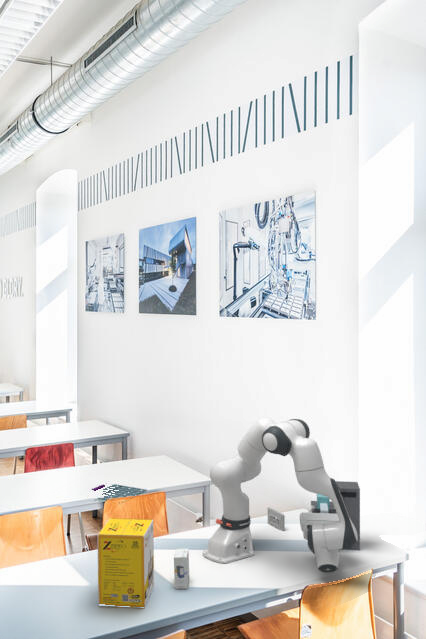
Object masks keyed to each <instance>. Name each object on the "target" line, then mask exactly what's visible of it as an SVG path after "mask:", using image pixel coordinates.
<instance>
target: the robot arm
mask: <svg viewBox="0 0 426 639" xmlns="http://www.w3.org/2000/svg"><path fill="white" fill-rule="evenodd" d="M310 431H311V430H310V427H309V425H308V424H307V422H306V421H304V420H302V419H300V418H292V419H288V420H284V421H281V422H279V423H276V422H275V420H274V419H272V418H269V417H261V418H259V419H258V420H256V422H255V423H253V424H252V426H251V427H250V428H249V429H247V432H246V433H245V435H244V436H242V439H241V440H240V442H239V443H238V445H237V450H238V451H237V452H238V454H237V455H236V456H233V457H230V458H227V459H222V460H220V461H218V462H216V463H215V464H213V465H212V466H211V468H210V469H209V470H210V471H209V477H210V481H211V482H212V484H213V485H214V486H215V487H217V488H218V489H219V492H220V495H221V498H222V516H221V519H220V518H216V520H215V523H216V524H218V525H219V527H218V528H217V529H216V531H215V532H214V533H213V534H212V535H211V537H210V538H209V540H208V546H207V548H206V549H204V550H203V551H202V556H203V557H204V558H206V559H208V560H210V561H213V562H216V563H220V564H228V563H232V562H235V561H239V560H242V559H246V558H249V557H252V556H254V555H255V551H254V546H253V540H252V534H251V533H252V532H251V528H250V527H251V523H252V522H251V521H252V520H251V515H250V498H249V496H248V495H247V494H246V493H245V492H243V491H242V488H241V486H242V483H246V482H249V481H252V480H254V479H255V478H256V477H258V476H259V475H260V474H261V472H262V464H261V461H262V459H263V458H264V457H265V455H266V453H267V452H268V453H270V454H274V455H280V456H283V457H286V456H288V455H289V456H290V457H291V458H292V461H293V467H294V472H295V478H296V480H297V483H298V485H299V486H300V487H301V488H302V489H304V490H305V491H307V492H309V493H312V494H313V493H314V494H316V495H317V494H320V495H323V496H326V497H328V498H329V499H330V502H333V504H334V512H336V513H337V514H331V513H312V511H314V509H315V508H314V505H311V504H310V508H309V510H308V512H300V514H299V524H300V525H299V526H300V530H301V532H302V533H303V534H302V536H303V539H304V540H306V541H307V546H308V549H309V550H310V552H311V553H312V554H314V555H315V562H316V566H317V569H318V571H320V572H322V573H325V574H326V573H334V572H337V570H339V562H340V555H339V553H340V552H339V549H352V548H353V547H354V546H355V545H356V544H357V542H358V535H357V531H356V528H355V526H354V525H353V523H352V520H351V518H350V515H349V513H348V510H347V507H346V505H345V502H344V499H343V497H342V494H341V492H340V489H339V487H338V485H337V483H336V481H337V480H335V478H333V477H330V475H329V474H328V473H327V471H326V469H325V465H324V464H325V463H324V459H323V456H322V453H321V451H320V447H319V444H318V443H317V441H315V440H314V439H312V438H310V434H311V432H310Z"/></svg>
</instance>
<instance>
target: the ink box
mask: <svg viewBox="0 0 426 639" xmlns="http://www.w3.org/2000/svg"><path fill="white" fill-rule="evenodd" d="M189 554H190V553H189V548H176V549H175V553H174V556H173V568H174V570H173V571H174V573H173V574H174V577H173V578H174V589H175V590H177V589H178V590H179V589H185V590H186V589H189V585H190V558H189V557H190V555H189Z"/></svg>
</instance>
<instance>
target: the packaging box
mask: <svg viewBox="0 0 426 639" xmlns="http://www.w3.org/2000/svg"><path fill="white" fill-rule="evenodd" d="M96 537H97V592H98V593H97V594H98V595H97V596H98V597H97V598H98V599H97V600H98V602H97V604H105V605H115V606H130V607H145V608H146V606H147V604H146V602H147V600H148V601H149V599H150V597H149V596H151V595H150V593H151V594H152V592H153V590H154V588H153V586H154V587H155V560H154V558H155V553H154V550H155V549H154V548H155V547H154V519H152V518H151V519H149V518H147V519H145V518H144V519H143V518H142V519H141V518H113V517H111V518H109V519H108V520H107V522H106V523H105V524H104V526H103V527H102V528H101V529H100V531H99V532H98V534H97V536H96ZM152 589H153V590H152ZM151 591H152V592H151ZM148 598H149V599H148ZM147 603H148V602H147ZM145 605H146V606H145Z"/></svg>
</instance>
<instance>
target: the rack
mask: <svg viewBox="0 0 426 639" xmlns="http://www.w3.org/2000/svg"><path fill="white" fill-rule="evenodd" d="M335 481H336V483H337V485H338V487H339V489H340V492H341V494H342V497H343V499H344V502H345V505H346V507H347V510H348V513H349V515H350V518H351V520H352V523H353V525H354V526H355V528H356V531H357V535H358V542H357V544H356V545H355V546H354V547H353V548H352V549H338V551H339V550H340V551H341V550H342V551H361V502H360V501H361V488H360V485H359V484H358V481H338V480H335ZM311 505H314V508H315V509H314V511H312V513H320V509H317V500H310V506H311ZM328 513H331V514H337V513H336V512H334V504H333V502H332V501H330V509H328Z"/></svg>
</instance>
